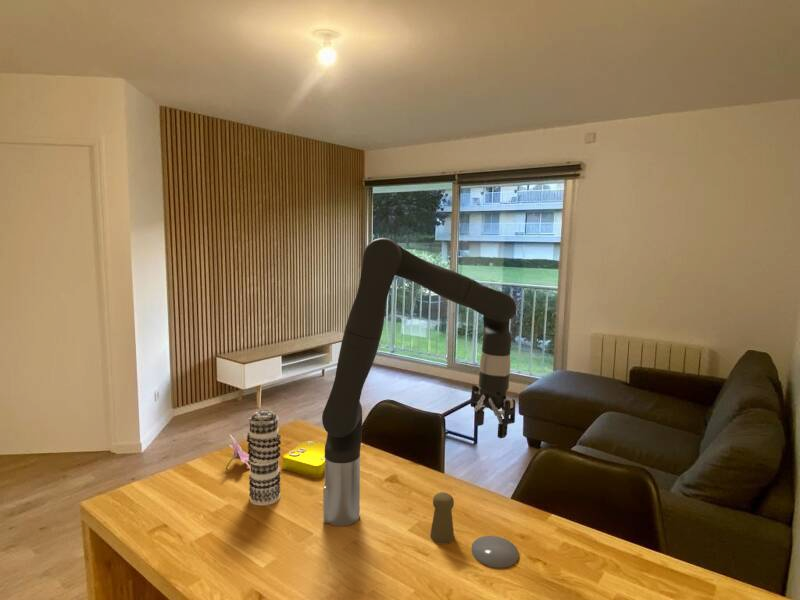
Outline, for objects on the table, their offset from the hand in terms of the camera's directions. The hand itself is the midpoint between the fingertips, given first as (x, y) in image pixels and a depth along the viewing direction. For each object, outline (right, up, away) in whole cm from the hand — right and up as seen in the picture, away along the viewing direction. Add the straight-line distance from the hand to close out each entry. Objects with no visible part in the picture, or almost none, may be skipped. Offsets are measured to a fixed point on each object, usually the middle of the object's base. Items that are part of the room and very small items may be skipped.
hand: (490, 431), depth 123 cm
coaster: (-1, -27, -9) cm, 28 cm away
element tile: (-52, -21, +34) cm, 66 cm away
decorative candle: (-62, -23, +13) cm, 67 cm away
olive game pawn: (-13, -26, -3) cm, 29 cm away
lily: (-75, -20, +31) cm, 84 cm away
